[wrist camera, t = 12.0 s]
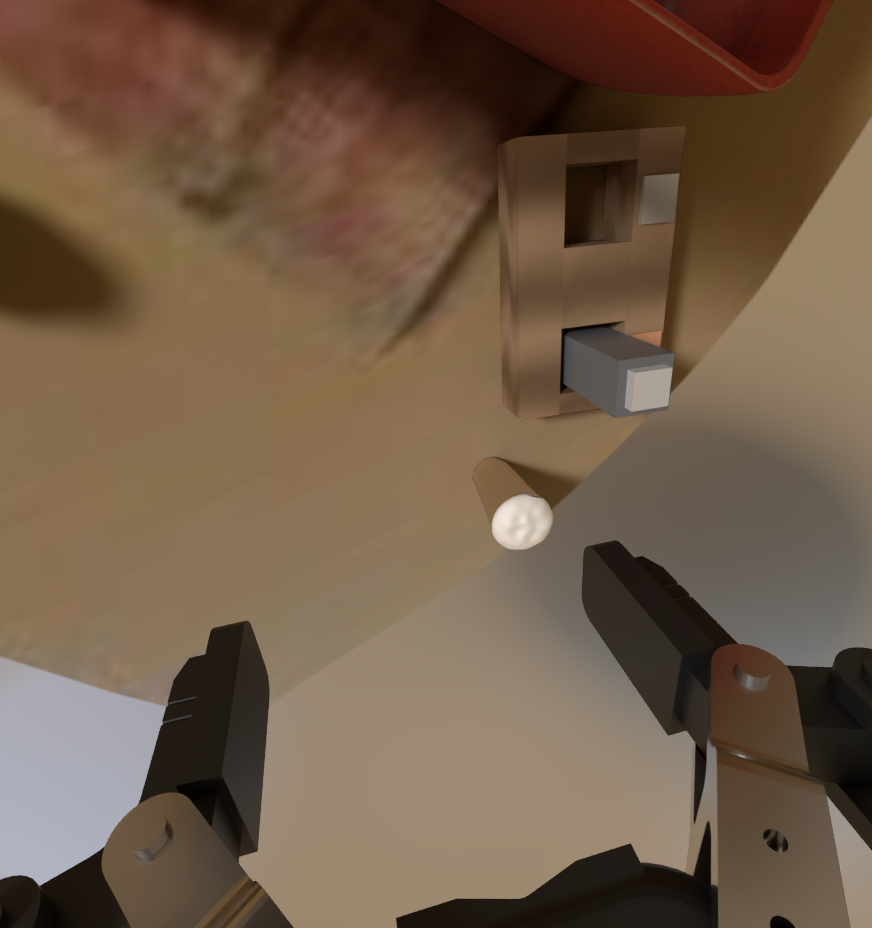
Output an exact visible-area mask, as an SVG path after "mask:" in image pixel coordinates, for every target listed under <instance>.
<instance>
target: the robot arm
mask: <svg viewBox="0 0 872 928" xmlns="http://www.w3.org/2000/svg"><path fill="white" fill-rule="evenodd" d="M582 601H583V606H584V609H585V612H586V614H587V616H588V618H589V620H590V622H591V623H592V624H593V626H594V627H595V629H596V630H597V632H598V633H599V635H600V636H601V638H602V639H603V641H604V642H605V644H606V645H607V647H608V648H609V649H610V651H611V652H612V654H613V655H614V657H615V658H616V660H617V661H618V663H619V664H620V666H621V667H622V669H623V670H624V671H625V673H626V674H627V676H628V677H629V679H630V680H631V682H632V683H633V685H634V686H635V688H636V689H637V691H638V692H639V694H640V695H641V696H642V698H643V699H644V701H645V702H646V704H647V705H648V707H649V708H650V710H651V711H652V713H653V714H654V715H655V717H656V718H657V720H658V721H659V723H660V724H661V726H662V727H663V729H664V730H665V732H666V733H667V735H672V734H675V733H679V732H682V731H686V730H687V732H688V733H689V734H690V736H691V737H692V738H693V740H694V745H693V750H692V783H691V815H690V837H689V848H688V855H687V864H686V873H685V872H683V871H680V870H678V869H674V868H671V867H667V866H664V865H659V864H652V863H640V861H639V859H638V857H637V855H636V853H635V851H634V849H633V847H632V845H631V844H628V845H624V846H621V847H618V848H615V849H612V850H609V851H605V852H603V853H599V854H596V855H593V856H590V857H587V858H584V859H581V860H577V861H575V862H574V863H572V864H571V865H570V866H568V867H567V868H566V869H564V870H563V871H561V872H560V873H559V874H557V875H556V876H555V877H553V878H552V879H550V880H549V881H548V882H546V883H545V884H544V885H542V886H541V887H540V888H538V889H537V890H535V891H534V892H533V893H531V894H530V895H528V896H527V897H525V898H521V899H454V900H451V901H448V902H445V903H442V904H439V905H436V906H432V907H429V908H426V909H423V910H420V911H417V912H413V913H410V914H408V915H404V916H401V917H398V918H396V921H397V928H850V922H849V916H848V911H847V905H846V900H845V895H844V889H843V883H842V878H841V873H840V867H839V861H838V856H837V851H836V845H835V839H834V834H833V828H832V824H831V817H830V812H829V806H828V802H827V796H828V797H829V799H830V800H831V801H832V802H833V803H834V805H835V806H836V807H837V808H838V810H839V811H840V812H841V813H842V815H843V816H844V817H845V818H846V819H847V821H848V822H849V823H850V824H851V825H852V827H853V828H854V829H855V830H856V832H857V833H858V834H859V835H860V837H861V838H862V839H863V840H864V842H865V843H866V844H867V845H868V846H869V848H870V849H871V850H872V649H869V648H848V649H845V650H842V651H841V652H839V653H838V655H837V656H836V658H835V660H834V663H833V666H832V667H806V666H787V665H785V664H784V663H783V662H781V661H780V660H779V659H778V658H777V657H775V656H774V655H772V654H770V653H768V652H766V651H764V650H762V649H760V648H757V647H753V646H750V645H744V644H738V643H737V642H736V641H735V640H734V639H733V638H732V637H731V636H730V635H729V634H728V633H727V632H726V631H725V630H724V629H723V628H722V627H721V626H720V625H719V624H718V623H717V622H716V621H715V620H714V619H713V618H712V617H711V616H710V615H709V614H708V613H707V612H706V611H705V610H704V609H703V608H702V607H701V606H700V605H699V604H698V603H697V602H696V601H695V600H694V599H693V598H692V597H691V598H690V596H689V593H688V592H687V591H686V590H685V589H684V588H682V587H681V585H678V584H677V581H676V580H675V579H674V578H673V577H672V576H671V575H670V574H669V573H668V572H667V571H666V570H665V569H664V568H663V567H661V566H660V565H658V564H656V563H654V562H652V561H650V560H649V559H647V558H645V557H643V556H640V557H636V558H634V557H633V556H632V555H631V554H630V553H629V552H628V550H627V549H626V548H625V547H624V546H623V545H622V544H621V543H620V542H618V541H610V542H605V543H601V544H596V545H592V546H587V547H586V548H585V550H584V556H583V578H582ZM268 708H269V680H268V674H267V670H266V667H265V664H264V661H263V658H262V655H261V652H260V649H259V646H258V643H257V641H256V638H255V635H254V632H253V629H252V626H251V624H250V622H249V621H243V622H238V623H234V624H229V625H225V626H220V627H216V628H213V629H212V630H211V632H210V636H209V640H208V645H207V649H206V654H205V655H201V656H196V657H192V658H189V659H188V661H187V662H186V664H185V665H184V666H183V668H182V669H181V671H180V672H179V673H178V675H177V676H176V678H175V679H174V681H173V685H172V688H171V692H170V696H169V699H168V706H167V707H166V710H165V714H164V717H163V725H162V726H161V728H160V731H159V735H158V739H157V742H156V746H155V750H154V753H153V756H152V760H151V763H150V767H149V771H148V774H147V778H146V781H145V785H144V788H143V792H142V796H141V799H140V801H139V804H138V805H137V806H136V807H135V808H133V809H132V810H131V811H130V812H129V813H128V814H127V815H126V816H125V817H124V818H123V819H122V820H121V821H120V822H119V823H118V825H117V826H116V827H115V829H114V830H113V832H112V833H111V835H110V837H109V838H108V841H107V843H106V845H105V847H104V848H102V849H101V850H100V851H98V852H97V853H95V854H94V855H92V856H91V857H89V858H88V859H86V860H84V861H82V862H81V863H79V864H77V865H75V866H74V867H72V868H70V869H69V870H67V871H65V872H63V873H62V874H60V875H58V876H56V877H54V878H53V879H51V880H49V881H48V882H46V883H44V884H42V885H41V886H39V885H38V884H37V883H36V882H35V881H34V880H33V879H32V878H29V877H27V876H21V875H20V876H11V877H8V878H4V879H1V880H0V928H293V926H292V925H291V924H290V922H289V921H288V920H287V919H286V917H285V916H284V915H283V913H282V912H281V911H280V909H279V908H278V907H277V905H276V904H275V903H274V902H273V900H272V899H271V898H270V896H269V895H268V894H267V893H266V891H265V890H264V889H263V888H262V887H261V886H260V885H259V884H258V882H256V881H254V882H253V881H252V880H251V879H250V877H249V876H248V875H247V874H246V872H245V871H244V870H243V868H242V867H241V866H240V864H239V857H240V856H243V855H246V854H250V853H253V852H257V851H258V838H259V825H260V812H261V800H262V786H263V774H264V761H265V748H266V735H267V721H268ZM826 795H827V796H826Z"/></svg>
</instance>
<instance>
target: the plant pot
mask: <svg viewBox="0 0 872 928" xmlns="http://www.w3.org/2000/svg"><path fill="white" fill-rule="evenodd" d="M436 1H437V2H439V3H441V4H443V5H444V6H446V7H448V8H449V9H451V10H453V11H455V12H456V13H458V14H460V15H461V16H463V17H465V18H467V19H468V20H470V21H472V22H473V23H475V24H477V25H479V26H480V27H482V28H484V29H485V30H487V31H489V32H491V33H492V34H494V35H496V36H497V37H499V38H501V39H503V40H504V41H506V42H508V43H509V44H511V45H513V46H515V47H516V48H518V49H520V50H521V51H523V52H525V53H527V54H528V55H530V56H532V57H534V58H535V59H537V60H539V61H540V62H542V63H544V64H545V65H547V66H549V67H550V68H552V69H554V70H555V71H557V72H559V73H562V74H565V75H567V76H570V77H572V78H575V79H578V80H581V81H584V82H588V83H591V84H595V85H599V86H603V87H607V88H612V89H616V90H621V91H627V92H635V93H642V94H656V95H670V96H726V95H746V94H754V93H763V92H771V91H775V90H778V89H780V88H781V87H783V86H784V85H786V84H787V83H788V82H789V81H791V80H792V78H793V77H794V75H795V74H796V72H797V71H798V69H799V68H800V66H801V64H802V62H803V60H804V58H805V56H806V54H807V52H808V50H809V48H810V46H811V44H812V42H813V40H814V38H815V36H816V34H817V32H818V30H819V28H820V26H821V25H822V23H823V21H824V19H825V17H826V15H827V13H828V11H829V9H830V7H831V5H832V3H833V1H834V0H436Z"/></svg>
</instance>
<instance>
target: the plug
mask: <svg viewBox="0 0 872 928" xmlns="http://www.w3.org/2000/svg"><path fill="white" fill-rule="evenodd" d="M674 356H675V353H674V352H671V351H669V350H666V349H664V348H661V347H658V346H656V345H653V344H650V343H648V342H645V341H642V340H640V339H637V338H634V337H632V336H629V335H626V334H624V333H621V332H618V331H616V330H613V329H610V328H608V327H605V326H602V325H600V324H595V325H587V326H579V327H571V328H563V329H562V334H561V370H560V382H562V383H563V384H565V385H566V386H568V387H569V388H571V389H572V390H574V391H575V392H577V393H578V394H580V395H581V396H583V397H584V398H586V399H587V400H589V401H590V402H592V403H593V404H595V405H596V406H598V407H599V408H601V409H602V410H604V411H605V412H607V413H608V414H609V415H611V416H612V417H614V418H619V417H625V416H632V415H638V414H644V413H650V412H656V411H662V410H668V407H669V406H668V405H669V398H670V390H671V382H672V373H673V365H674Z"/></svg>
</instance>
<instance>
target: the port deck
mask: <svg viewBox="0 0 872 928" xmlns="http://www.w3.org/2000/svg"><path fill="white" fill-rule="evenodd" d="M685 132H686V126H674V127H659V128H644V129H630V130H615V131H600V132H585V133H570V134H555V135H541V136H526V137H517V138H514V139H512V140H509V141H507V142H504V143H502V144H499V145H497V159H498V204H499V249H500V294H501V339H502V384H503V404H504V405H505V406H506V407H507V408H508V409H509V410H510V411H511V412H512V413H513V414H514V415H515V416H516V417H517V418H518V419H519V420H520V421H521V420H527V419H534V418H540V417H547V416H553V415H560V414H567V413H573V412H580V411H586V410H593V409H599V407H598V406H596V405H595V404H593V403H592V402H590V401H589V400H587V399H586V398H584V397H583V396H581V395H580V394H578V393H577V392H575V391H574V390H572V389H571V388H569V387H568V386H566V385H565V384H563V383H562V382H560V370H561V334H562V329H563V328H571V327H579V326H587V325H595V324H600V325H602V326H605V327H608V328H610V329H613V330H616V331H618V332H621V333H624V334H626V335H629V336H632V337H634V338H637V339H640V340H642V341H645V342H648V343H650V344H653V345H656V346H658V347H661V344H662V336H663V327H664V318H665V309H666V300H667V291H668V283H669V274H670V265H671V256H672V247H673V238H674V229H675V221H676V212H677V203H678V194H679V185H680V176H681V168H682V159H683V150H684V141H685ZM595 165H607V168H606V186H605V203H604V220H603V237H602V240H592V241H582V242H572V243H564V228H565V192H566V168H570V167H583V166H595Z"/></svg>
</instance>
